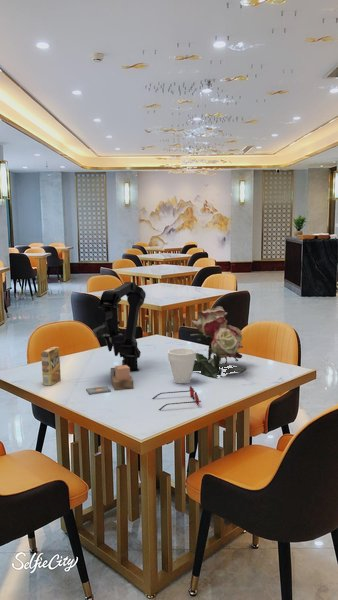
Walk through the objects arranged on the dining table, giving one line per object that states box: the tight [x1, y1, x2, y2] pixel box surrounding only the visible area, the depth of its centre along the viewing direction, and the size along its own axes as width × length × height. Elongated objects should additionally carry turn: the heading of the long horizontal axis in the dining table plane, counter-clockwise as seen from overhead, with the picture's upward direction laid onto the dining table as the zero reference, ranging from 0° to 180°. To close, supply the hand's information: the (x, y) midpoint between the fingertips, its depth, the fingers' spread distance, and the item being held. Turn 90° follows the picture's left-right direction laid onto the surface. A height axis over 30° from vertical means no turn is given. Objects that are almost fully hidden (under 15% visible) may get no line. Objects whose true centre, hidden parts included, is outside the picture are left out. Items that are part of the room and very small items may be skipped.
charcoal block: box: [110, 367, 115, 380], centre depth 229 cm, size 5×5×5 cm
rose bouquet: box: [181, 305, 247, 379], centre depth 242 cm, size 26×29×30 cm
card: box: [85, 385, 112, 396], centre depth 213 cm, size 9×6×1 cm, turn 112°
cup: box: [167, 347, 197, 384], centre depth 224 cm, size 12×12×14 cm
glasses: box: [151, 385, 202, 411], centre depth 197 cm, size 14×16×5 cm
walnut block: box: [111, 375, 134, 391], centre depth 219 cm, size 8×8×4 cm
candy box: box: [40, 346, 62, 386], centre depth 225 cm, size 9×4×15 cm, turn 163°
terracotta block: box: [114, 364, 131, 380], centre depth 218 cm, size 5×5×5 cm
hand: (113, 353), depth 228 cm, fingers open, 9 cm apart
